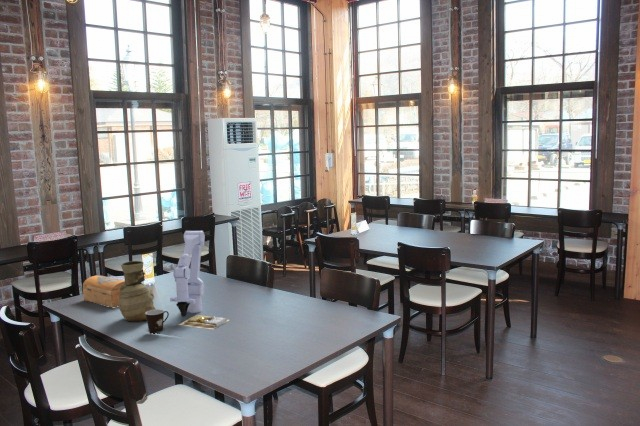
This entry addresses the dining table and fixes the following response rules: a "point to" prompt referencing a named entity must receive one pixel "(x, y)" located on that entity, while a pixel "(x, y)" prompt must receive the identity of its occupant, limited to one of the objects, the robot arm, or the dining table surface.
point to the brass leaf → (197, 319)
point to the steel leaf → (215, 321)
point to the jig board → (200, 324)
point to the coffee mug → (155, 320)
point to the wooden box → (102, 290)
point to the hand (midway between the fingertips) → (184, 316)
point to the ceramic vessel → (135, 293)
